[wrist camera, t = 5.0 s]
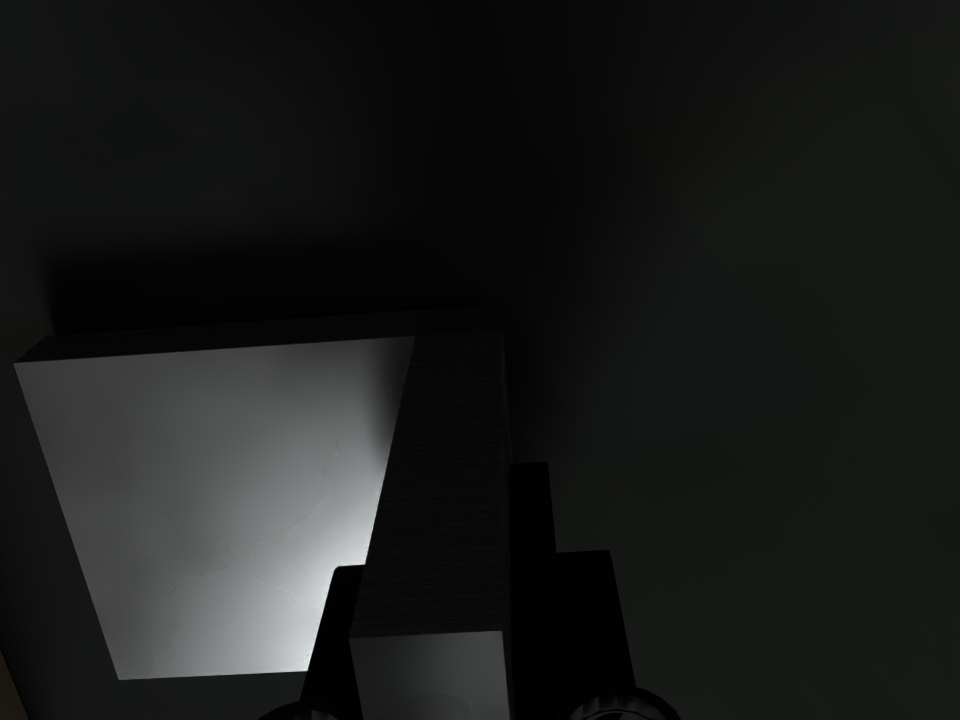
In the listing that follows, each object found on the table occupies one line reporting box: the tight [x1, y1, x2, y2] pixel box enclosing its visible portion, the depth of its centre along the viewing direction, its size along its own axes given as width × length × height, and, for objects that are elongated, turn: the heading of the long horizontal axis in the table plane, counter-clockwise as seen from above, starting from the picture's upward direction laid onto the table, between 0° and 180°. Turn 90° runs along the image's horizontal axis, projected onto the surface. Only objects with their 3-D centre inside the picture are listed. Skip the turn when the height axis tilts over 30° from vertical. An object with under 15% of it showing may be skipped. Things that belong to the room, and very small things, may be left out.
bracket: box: [13, 304, 517, 720], centre depth 11 cm, size 7×6×7 cm
